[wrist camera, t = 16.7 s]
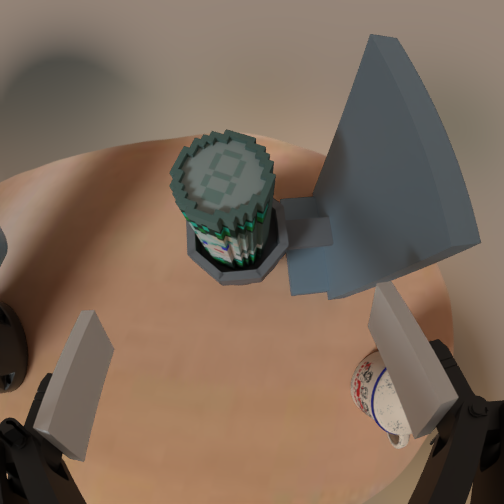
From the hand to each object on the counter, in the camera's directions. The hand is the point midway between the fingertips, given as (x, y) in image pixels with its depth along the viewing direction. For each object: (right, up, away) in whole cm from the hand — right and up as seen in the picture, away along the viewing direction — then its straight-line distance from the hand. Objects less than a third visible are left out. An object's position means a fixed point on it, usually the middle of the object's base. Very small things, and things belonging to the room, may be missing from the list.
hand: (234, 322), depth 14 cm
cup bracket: (+3, +4, +25) cm, 25 cm away
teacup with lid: (+17, -15, +20) cm, 31 cm away
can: (-1, +4, +19) cm, 20 cm away
